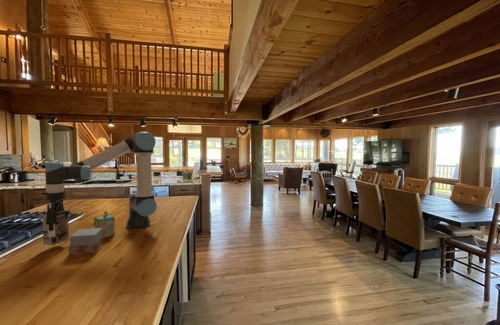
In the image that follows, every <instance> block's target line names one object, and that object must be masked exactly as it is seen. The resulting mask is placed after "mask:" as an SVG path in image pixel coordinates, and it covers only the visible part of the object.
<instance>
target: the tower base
mask: <svg viewBox="0 0 500 325" xmlns="http://www.w3.org/2000/svg"><path fill="white" fill-rule="evenodd" d="M102 246H103V238H102V237H101V239H100V240H99V241H98V242H97V243H96V244H95V245H82V246H70V245H69V246H68V257H75V256H84V255H93V253H94V254H98V252H99V250H100V249H101V248H102Z"/></svg>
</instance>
